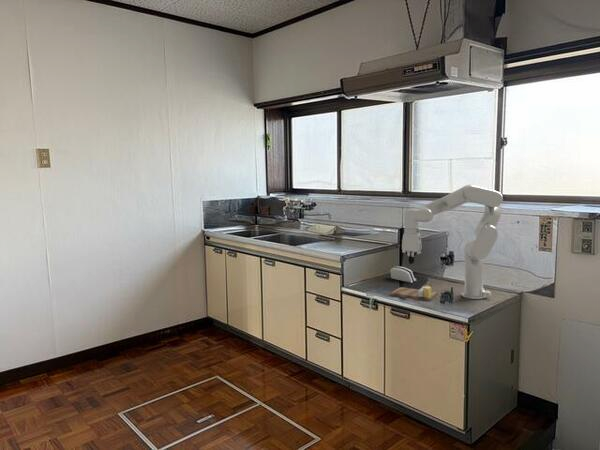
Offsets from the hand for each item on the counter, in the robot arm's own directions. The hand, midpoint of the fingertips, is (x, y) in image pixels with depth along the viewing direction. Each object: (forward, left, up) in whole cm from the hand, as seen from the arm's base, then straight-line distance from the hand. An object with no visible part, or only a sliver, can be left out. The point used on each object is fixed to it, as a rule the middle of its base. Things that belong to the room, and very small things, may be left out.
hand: (411, 263), depth 257 cm
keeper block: (-9, +1, -17) cm, 20 cm away
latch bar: (-6, -2, -17) cm, 18 cm away
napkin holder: (+18, -30, -19) cm, 40 cm away
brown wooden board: (-1, -2, -19) cm, 19 cm away
